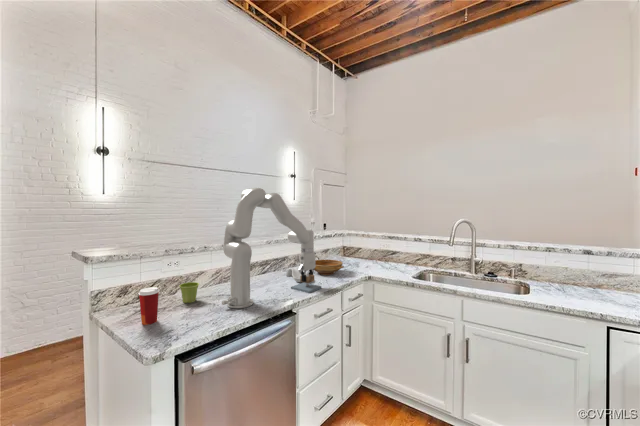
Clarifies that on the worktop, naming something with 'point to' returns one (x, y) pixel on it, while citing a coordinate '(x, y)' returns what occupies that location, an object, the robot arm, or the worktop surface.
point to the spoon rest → (294, 274)
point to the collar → (308, 278)
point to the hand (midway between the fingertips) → (307, 279)
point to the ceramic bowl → (328, 266)
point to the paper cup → (149, 305)
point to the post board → (306, 287)
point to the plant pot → (189, 291)
